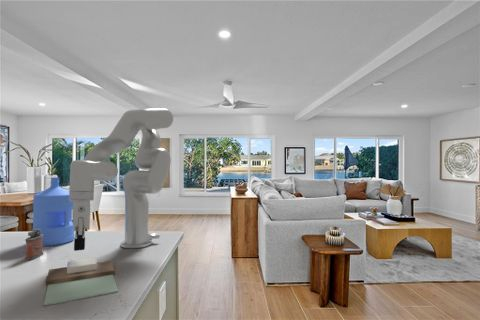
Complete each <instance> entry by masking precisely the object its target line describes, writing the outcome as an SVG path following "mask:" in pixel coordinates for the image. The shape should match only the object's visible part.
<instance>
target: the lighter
mask: <svg viewBox="0 0 480 320" xmlns="http://www.w3.org/2000/svg"><path fill="white" fill-rule="evenodd" d="M40 232H41V229H37V230H33V229H31V230H30V231H29V232H28V233H27V236H28V237H27V238H25V261H27V262H28V261H34V260H35V259H38V258H40V257H42V256H43V255H44V249H43V247H44V246H43V234H40Z"/></svg>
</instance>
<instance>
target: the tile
mask: <svg viewBox="0 0 480 320" xmlns="http://www.w3.org/2000/svg"><path fill="white" fill-rule="evenodd" d="M96 263H97V259H96V257H93V258H86V259H77V260H73V261H71V260H70V261H67V263H66V265H67V266H66V267H67V274H69V273H75V272H82V271H89V270H95V269H96Z"/></svg>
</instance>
